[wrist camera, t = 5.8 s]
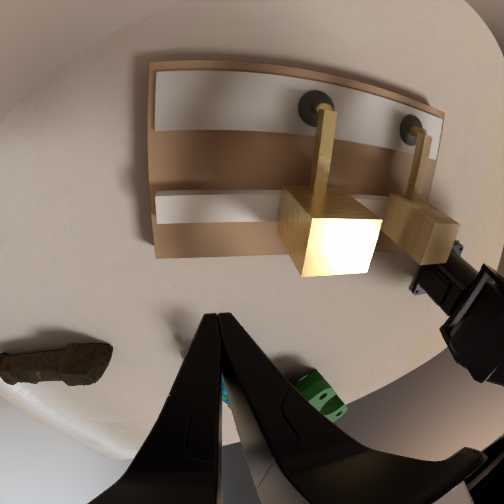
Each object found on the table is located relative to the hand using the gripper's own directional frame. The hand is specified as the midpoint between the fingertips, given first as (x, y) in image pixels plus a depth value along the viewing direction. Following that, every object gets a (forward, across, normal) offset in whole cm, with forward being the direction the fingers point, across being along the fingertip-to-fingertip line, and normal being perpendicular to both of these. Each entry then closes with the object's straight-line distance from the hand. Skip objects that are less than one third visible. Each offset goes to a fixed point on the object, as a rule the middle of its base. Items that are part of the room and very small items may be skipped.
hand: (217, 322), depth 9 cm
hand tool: (+12, +19, +17) cm, 28 cm away
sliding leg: (+10, -7, -3) cm, 12 cm away
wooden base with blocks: (+12, -8, -2) cm, 14 cm away
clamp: (+12, -12, +26) cm, 31 cm away
